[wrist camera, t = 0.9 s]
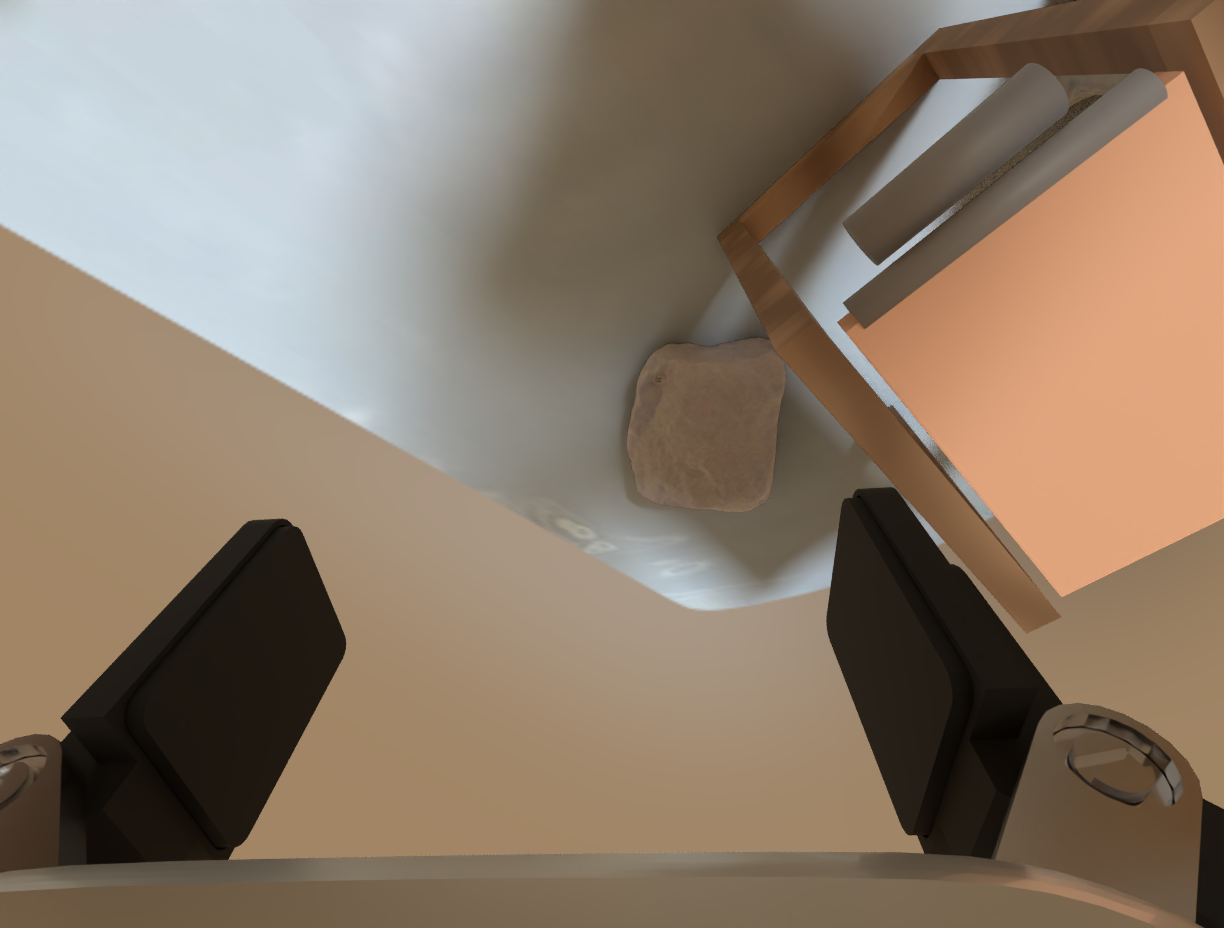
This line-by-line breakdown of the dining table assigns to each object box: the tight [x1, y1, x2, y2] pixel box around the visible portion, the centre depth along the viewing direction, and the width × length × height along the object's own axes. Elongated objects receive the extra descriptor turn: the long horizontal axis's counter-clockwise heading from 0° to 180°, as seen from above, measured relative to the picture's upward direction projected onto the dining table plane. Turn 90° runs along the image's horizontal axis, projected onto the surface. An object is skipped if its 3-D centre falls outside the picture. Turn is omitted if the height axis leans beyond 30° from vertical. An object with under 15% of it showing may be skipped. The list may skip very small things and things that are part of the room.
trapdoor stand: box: [717, 0, 1224, 633], centre depth 28 cm, size 14×18×18 cm
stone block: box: [627, 337, 786, 513], centre depth 40 cm, size 12×5×10 cm
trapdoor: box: [837, 63, 1224, 597], centre depth 21 cm, size 10×18×3 cm, turn 45°
